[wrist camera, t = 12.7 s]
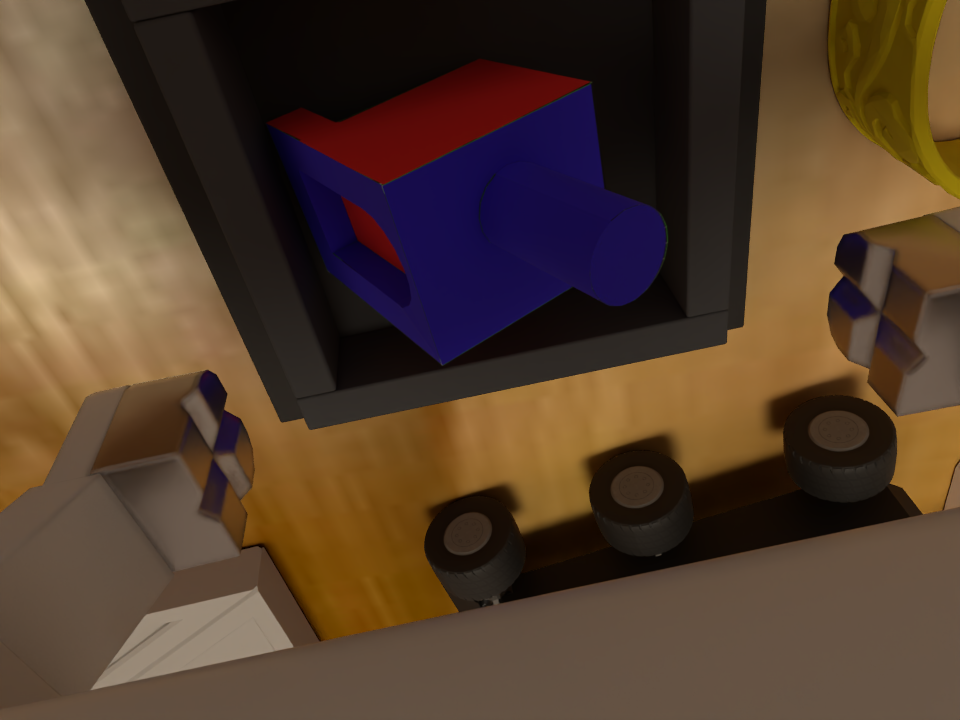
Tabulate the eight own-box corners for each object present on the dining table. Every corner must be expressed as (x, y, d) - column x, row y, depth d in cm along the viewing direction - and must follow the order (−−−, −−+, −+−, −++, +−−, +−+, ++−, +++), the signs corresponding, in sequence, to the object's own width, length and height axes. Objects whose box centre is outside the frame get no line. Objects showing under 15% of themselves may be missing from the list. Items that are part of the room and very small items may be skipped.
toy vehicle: (861, 526, 27) (1029, 770, 20) (487, 637, 29) (523, 899, 22) (863, 368, 22) (1086, 620, 15) (411, 512, 24) (426, 800, 17)
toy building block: (472, 195, 18) (727, 313, 12) (326, 271, 17) (535, 445, 11) (436, 49, 16) (725, 109, 10) (263, 123, 14) (483, 241, 9)
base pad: (33, -146, 12) (-47, -137, 10) (768, -305, 12) (863, -335, 10) (283, 405, 20) (272, 482, 18) (732, 311, 20) (780, 377, 18)
